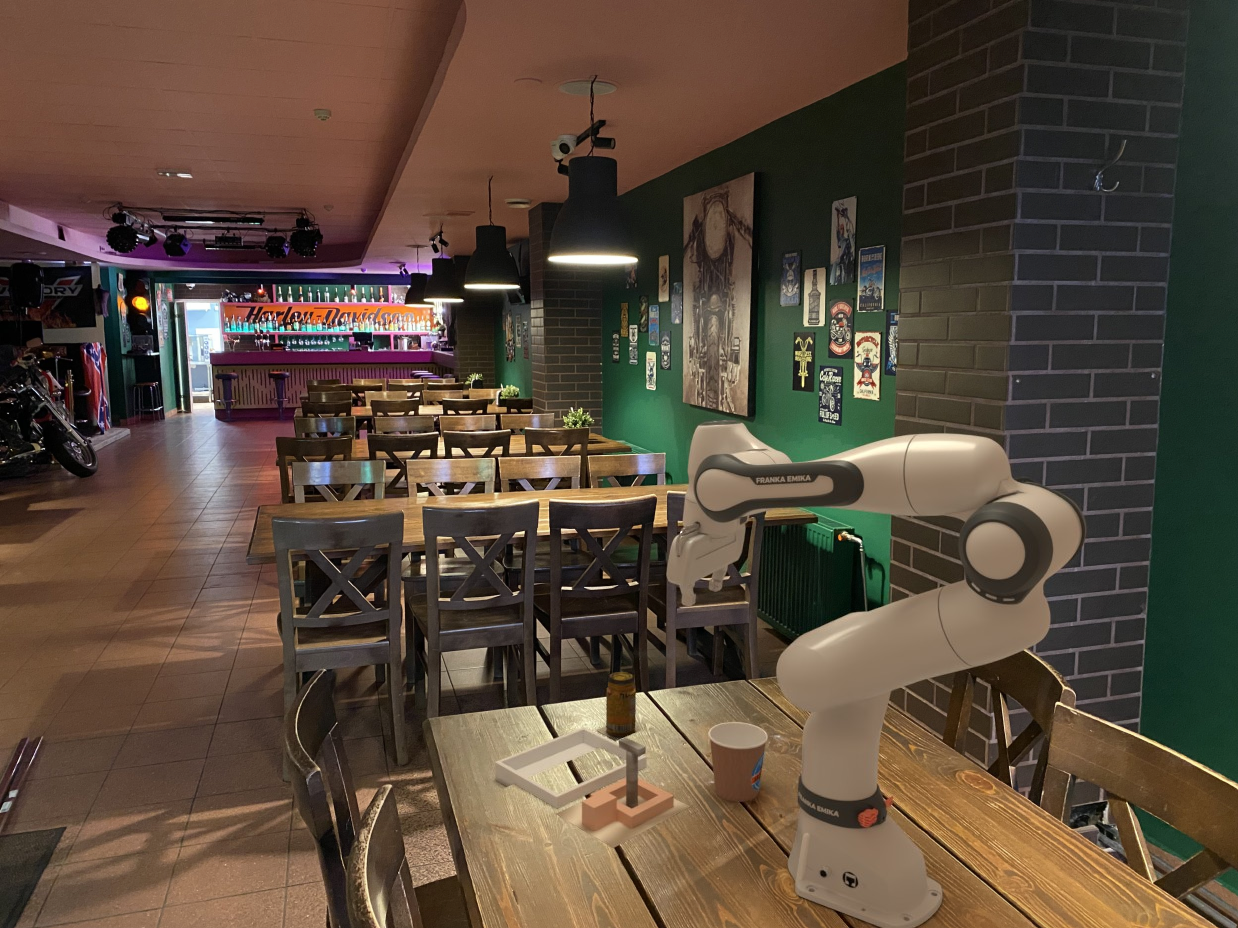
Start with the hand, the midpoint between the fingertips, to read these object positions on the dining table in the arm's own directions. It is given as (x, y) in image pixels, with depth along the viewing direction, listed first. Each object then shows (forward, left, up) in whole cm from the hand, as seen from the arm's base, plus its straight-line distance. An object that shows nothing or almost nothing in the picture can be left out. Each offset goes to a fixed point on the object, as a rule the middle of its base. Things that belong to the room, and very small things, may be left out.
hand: (701, 597), depth 147 cm
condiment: (+31, -12, -38) cm, 50 cm away
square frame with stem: (+7, +12, -36) cm, 39 cm away
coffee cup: (-2, -8, -38) cm, 39 cm away
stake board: (+7, +11, -38) cm, 40 cm away
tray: (+24, +8, -38) cm, 45 cm away
